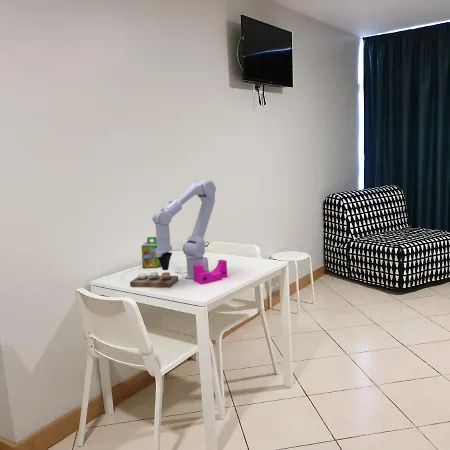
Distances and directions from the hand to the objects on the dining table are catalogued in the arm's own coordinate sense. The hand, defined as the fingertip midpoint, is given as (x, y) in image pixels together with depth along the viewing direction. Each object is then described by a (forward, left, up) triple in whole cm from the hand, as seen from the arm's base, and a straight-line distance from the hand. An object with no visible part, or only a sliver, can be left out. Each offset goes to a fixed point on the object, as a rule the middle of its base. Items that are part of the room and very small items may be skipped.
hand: (165, 269), depth 191 cm
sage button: (+5, 0, -3) cm, 6 cm away
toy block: (-19, -8, -7) cm, 21 cm away
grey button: (+11, 0, -4) cm, 12 cm away
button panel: (+5, 0, -6) cm, 8 cm away
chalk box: (+18, -30, -6) cm, 36 cm away
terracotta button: (0, 0, -3) cm, 3 cm away
